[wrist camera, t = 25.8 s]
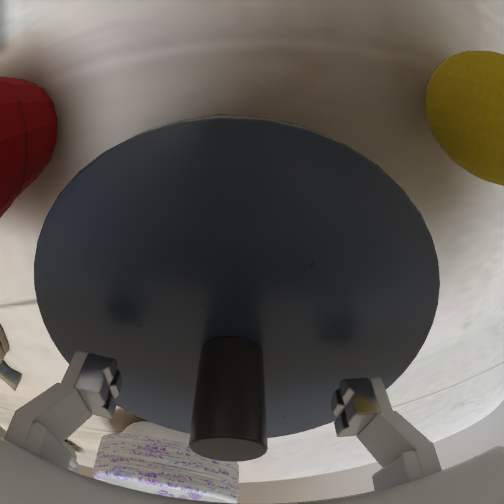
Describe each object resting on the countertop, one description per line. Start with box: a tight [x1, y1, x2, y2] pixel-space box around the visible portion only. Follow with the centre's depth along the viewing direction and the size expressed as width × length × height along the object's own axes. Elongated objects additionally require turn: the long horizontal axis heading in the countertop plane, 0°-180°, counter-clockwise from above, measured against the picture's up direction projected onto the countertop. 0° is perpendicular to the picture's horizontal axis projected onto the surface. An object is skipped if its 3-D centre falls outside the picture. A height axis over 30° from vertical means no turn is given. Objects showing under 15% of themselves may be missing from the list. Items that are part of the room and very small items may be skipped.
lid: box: [34, 116, 440, 462], centre depth 10 cm, size 17×17×5 cm
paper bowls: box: [93, 421, 239, 503], centre depth 24 cm, size 15×15×8 cm
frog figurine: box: [62, 441, 78, 472], centre depth 31 cm, size 6×7×7 cm
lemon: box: [425, 51, 504, 186], centre depth 8 cm, size 6×6×8 cm
